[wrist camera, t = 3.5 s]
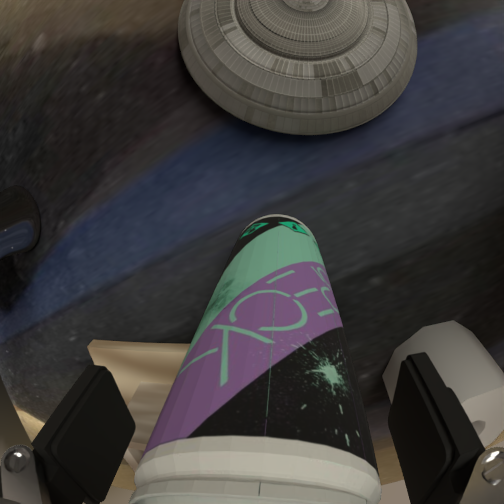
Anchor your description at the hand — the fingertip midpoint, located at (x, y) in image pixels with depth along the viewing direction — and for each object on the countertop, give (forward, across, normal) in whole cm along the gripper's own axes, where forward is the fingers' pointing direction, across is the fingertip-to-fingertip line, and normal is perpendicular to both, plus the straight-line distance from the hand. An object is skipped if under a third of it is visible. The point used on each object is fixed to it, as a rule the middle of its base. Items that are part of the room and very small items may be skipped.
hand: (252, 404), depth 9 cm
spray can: (+13, -1, 0) cm, 13 cm away
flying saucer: (+13, -4, -15) cm, 21 cm away
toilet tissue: (+13, -14, +12) cm, 23 cm away
